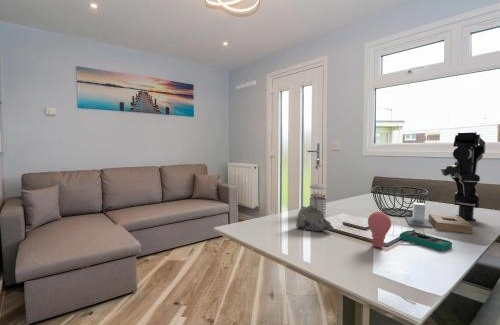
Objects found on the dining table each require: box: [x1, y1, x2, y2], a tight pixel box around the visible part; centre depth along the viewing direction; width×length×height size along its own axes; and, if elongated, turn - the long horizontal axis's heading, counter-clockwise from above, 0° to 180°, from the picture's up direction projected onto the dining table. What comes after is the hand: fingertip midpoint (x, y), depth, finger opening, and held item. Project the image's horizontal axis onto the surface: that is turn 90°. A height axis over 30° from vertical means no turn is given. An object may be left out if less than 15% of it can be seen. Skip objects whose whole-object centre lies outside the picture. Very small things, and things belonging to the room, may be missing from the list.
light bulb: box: [367, 211, 392, 248], centre depth 93 cm, size 7×7×12 cm
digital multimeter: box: [399, 230, 453, 253], centre depth 98 cm, size 7×15×3 cm, turn 31°
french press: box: [309, 163, 328, 218], centre depth 133 cm, size 10×12×25 cm
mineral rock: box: [295, 205, 334, 232], centre depth 109 cm, size 13×11×10 cm
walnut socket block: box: [428, 213, 473, 234], centre depth 119 cm, size 16×12×3 cm
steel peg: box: [412, 202, 426, 223], centre depth 123 cm, size 4×4×8 cm
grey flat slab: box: [404, 216, 434, 229], centre depth 124 cm, size 14×9×1 cm, turn 157°
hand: (462, 195), depth 122 cm, fingers open, 9 cm apart
